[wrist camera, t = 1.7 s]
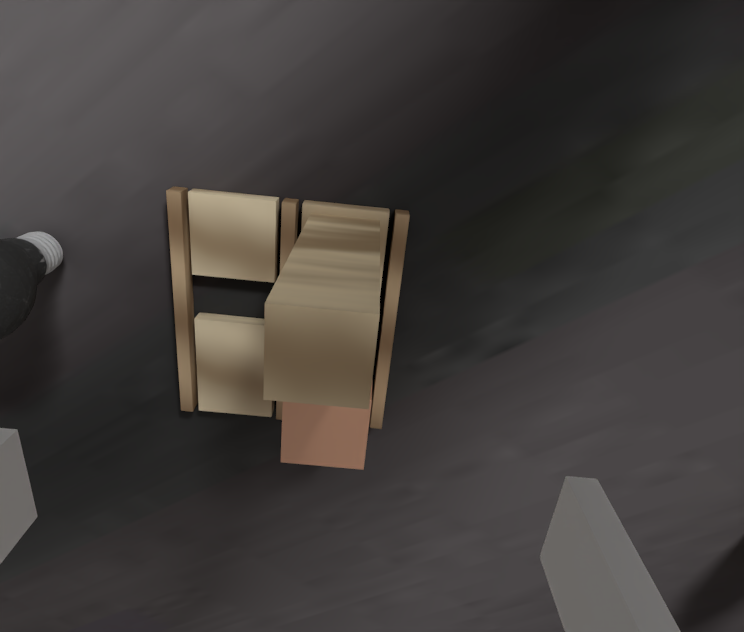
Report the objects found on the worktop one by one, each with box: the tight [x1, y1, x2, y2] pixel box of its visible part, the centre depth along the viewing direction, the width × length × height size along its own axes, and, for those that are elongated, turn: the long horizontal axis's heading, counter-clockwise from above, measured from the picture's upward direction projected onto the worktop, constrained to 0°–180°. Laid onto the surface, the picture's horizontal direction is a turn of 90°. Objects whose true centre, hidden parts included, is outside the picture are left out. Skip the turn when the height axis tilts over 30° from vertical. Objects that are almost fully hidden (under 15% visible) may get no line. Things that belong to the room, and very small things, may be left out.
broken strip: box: [188, 189, 279, 417], centre depth 33 cm, size 15×5×1 cm, turn 175°
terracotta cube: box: [281, 385, 372, 470], centre depth 32 cm, size 5×5×5 cm
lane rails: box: [166, 187, 410, 429], centre depth 33 cm, size 15×14×1 cm
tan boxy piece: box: [263, 200, 390, 409], centre depth 27 cm, size 15×5×14 cm, turn 175°
